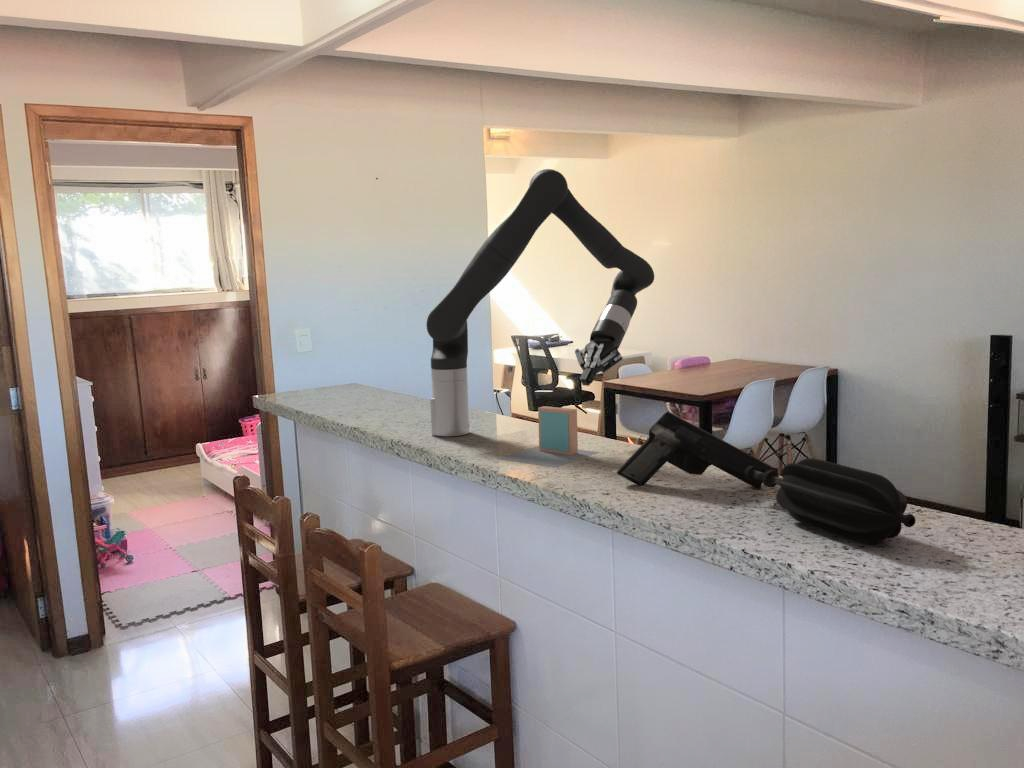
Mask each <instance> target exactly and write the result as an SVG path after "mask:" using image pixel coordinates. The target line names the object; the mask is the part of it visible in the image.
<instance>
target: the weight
mask: <svg viewBox="0 0 1024 768" xmlns="http://www.w3.org/2000/svg"><path fill="white" fill-rule="evenodd" d="M781 471H782V472H781V475H782V478H781V477H780V476H779V473H778V472H777V471H776V470H772V469H771V470H767V471H766V472H765V473H762V472H759V470H758V469H757V468H756V467H753V466H748V467H747V468H746V469H745V471H744V475H745V478H746V479H749V480H756V479H760V480H763V481H762V482H763V484H762V485H763V486H765V487H766V488H771V489H772V488H775V487H776V486H779V488H778V490H777V493H776V496H775V499H776V503H777V504H778V505H779V507H780V508H782V509H783V510H786V511H787V512H788V514H790V516H791V517H792V518H793V519H795V520H796V521H797V522H801V523H803V524H806V525H809V526H812V527H814V528H817V529H821V530H824V531H826V532H829V533H831V534H834V535H837V536H840V537H843V538H846V539H849V540H852V541H854V542H858V543H860V544H864V545H875V544H879V543H881V542H884V541H885V540H886V539H893V538H896V537H898V536H899V535H900V533H901V531H902V524H903V526H905V527H906V528H911V527H913V526H914V525H915V524H916V517H915V515H913V514H911V513H908V514H907V513H906V514H904V513H905V512H906V510H907V507H908V499H907V497H906V495H905V494H904V493H903V492H902V491H900V490H899V489H897V488H896V487H895V485H894V484H893V483H892V481H890V480H889V479H888V478H886V477H885V476H883V475H881V474H877V473H875V472H871V471H866V470H862V469H858V468H854V467H851V466H847V465H843V464H838V463H835V462H831V461H827V460H824V459H818V458H814V457H812V458H811V457H810V458H804V459H802V460H800V461H798V462H796V463H795V462H790V463H787V464H785V465H784V466H783V468H782V470H781Z"/></svg>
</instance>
